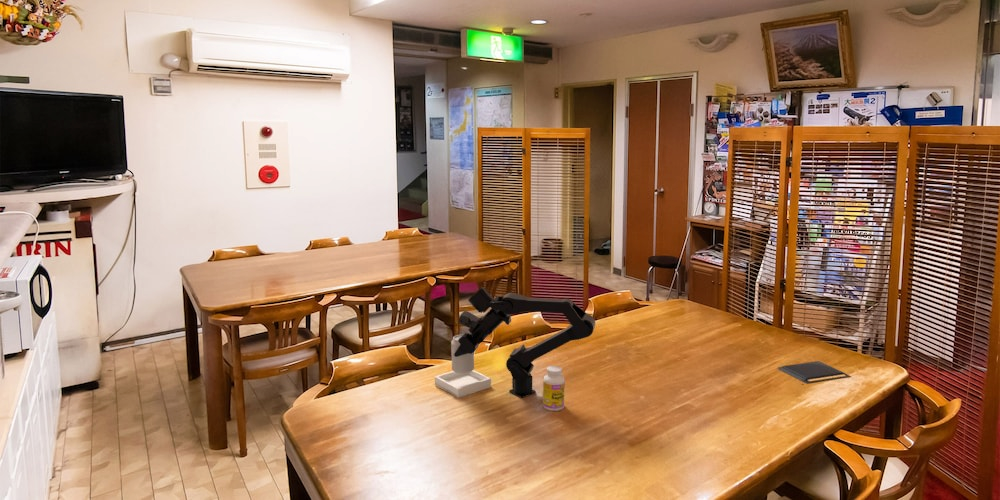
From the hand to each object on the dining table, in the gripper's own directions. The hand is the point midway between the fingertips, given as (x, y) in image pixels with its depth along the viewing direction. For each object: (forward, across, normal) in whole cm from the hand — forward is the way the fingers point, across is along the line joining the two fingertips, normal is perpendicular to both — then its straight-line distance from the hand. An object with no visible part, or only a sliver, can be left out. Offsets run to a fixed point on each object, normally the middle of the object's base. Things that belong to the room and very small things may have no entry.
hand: (458, 351), depth 207 cm
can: (+4, 0, +6) cm, 7 cm away
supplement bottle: (-15, +8, +33) cm, 37 cm away
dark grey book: (-73, -44, +94) cm, 127 cm away
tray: (+8, 0, +9) cm, 12 cm away
